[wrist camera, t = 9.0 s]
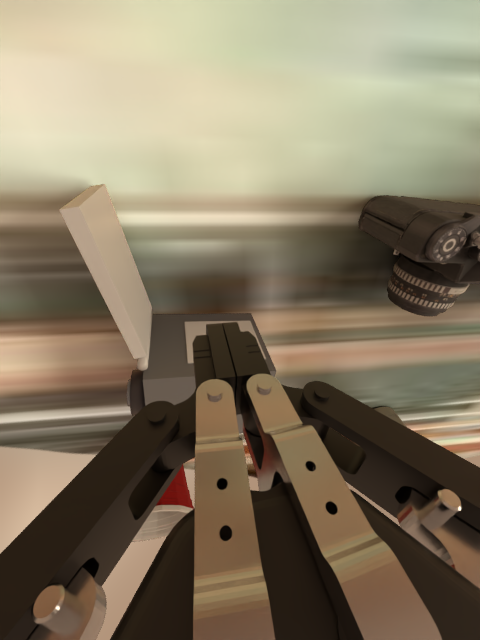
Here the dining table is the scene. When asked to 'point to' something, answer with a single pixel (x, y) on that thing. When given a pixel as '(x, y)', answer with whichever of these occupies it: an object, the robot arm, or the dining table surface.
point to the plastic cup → (167, 510)
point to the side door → (111, 266)
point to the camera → (426, 249)
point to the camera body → (180, 358)
